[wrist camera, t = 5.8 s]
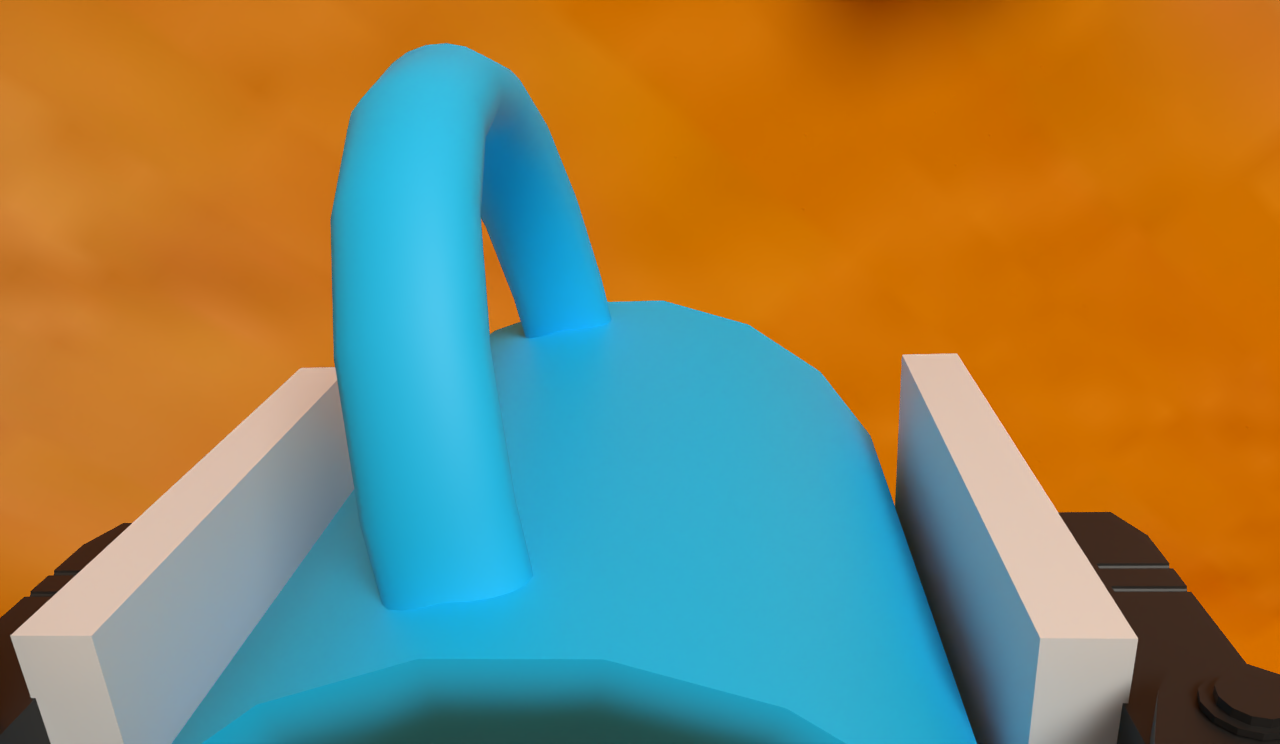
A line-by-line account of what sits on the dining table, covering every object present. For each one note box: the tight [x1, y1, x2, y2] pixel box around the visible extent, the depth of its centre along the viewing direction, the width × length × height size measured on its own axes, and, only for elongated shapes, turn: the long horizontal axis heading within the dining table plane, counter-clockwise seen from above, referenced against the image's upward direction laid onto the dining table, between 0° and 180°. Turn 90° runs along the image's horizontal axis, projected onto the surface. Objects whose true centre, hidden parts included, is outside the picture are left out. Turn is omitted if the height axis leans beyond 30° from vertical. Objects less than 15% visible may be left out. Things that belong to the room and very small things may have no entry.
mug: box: [172, 43, 977, 744], centre depth 11 cm, size 12×8×8 cm
